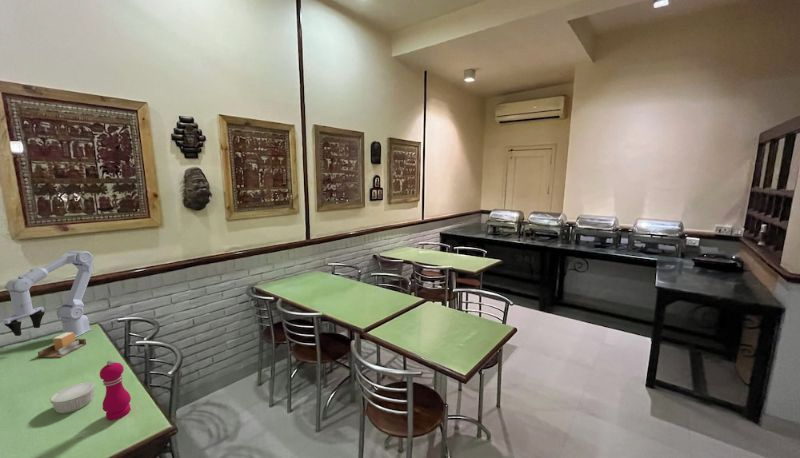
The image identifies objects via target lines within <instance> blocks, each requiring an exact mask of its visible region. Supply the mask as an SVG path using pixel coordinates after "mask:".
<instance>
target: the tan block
mask: <svg viewBox="0 0 800 458" xmlns="http://www.w3.org/2000/svg"><path fill="white" fill-rule="evenodd" d="M76 339H77V337H75V333H73V332H66V333H64V332H63V333H61V334H59V335H56V336H55V337H54V338H52V341H53V345H54V346H55V351H58V350H59V349H61V348H63V347H65V346H67V345H69V344H71V343H73V342H75V341H76Z"/></svg>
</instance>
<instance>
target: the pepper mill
mask: <svg viewBox="0 0 800 458" xmlns="http://www.w3.org/2000/svg"><path fill="white" fill-rule="evenodd" d="M123 373H124V366H123V364H122V363H120V362H114V359H109V360H107V362H106V365H104V366H103V367H101V369H100V371H99V377H100V379H101V380H102V383H103V386H105V396H104V398H103V401H102V410H103V411H104V412H105V417H106V420H108V421H115V420H116V421H117V420H119V419H122V418H123V416H124V417H125V416H126V415H128V414H129V413H130V411H132V410H131V404H130V402H131V400H132V397H131V395H130V393H129V391H128V390H126V389H125V387H124V386H123V385H124V384H123V380H124V376H123Z"/></svg>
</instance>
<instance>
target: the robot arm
mask: <svg viewBox="0 0 800 458" xmlns="http://www.w3.org/2000/svg"><path fill="white" fill-rule="evenodd" d="M94 258H95V257H94V256H93V254H92V253H91V252H89V251H88V250H87V251H86V250H84V251H83V250H70V251H68V252H66V253H63V254H61V256H60V257H58V258H55V260H53V261H51V262H49V263H48V264H46V265H45V266H43V267H35V268H34V267H33V268H30V269H29V271H28V272H26V273H24V274H20V275H18V276H17V278H12V279H9V280H8V281H7V282H6V284H5V286H4V289H5V290H6V291H8V292H9V295H10V296H9V297H10V299H11V304H12V310H13V314H12V315H11V316H9V317H6V318H4V319H2V322H3V325H4V326H5V327H7V328H8V329H9V330H11V332H12V333H13V334H14V336H15V337H20V336H22V329H21V328H22V327H21V325H22V321H21V319H23V318H26V317H28V316H29V318H30V320H31V322H32V326H33V328H34V329H39V328H40V327H41V323H42V319H43V318H44V315H45V309H44V306H38V307H35V308H33V301H32V298H31V293H30V289H31V287H32V286H33V285H35V284H37V283H38V282H40V281H42V280H44V279H45V278H47V277H48V275H49V273H51V272H53V271H55V270H57V269H59V268H61V267H63V266H65V265H68V264H70V265H71V264H72V265H74V267H76V268H77V273H76V275H75V278H74V281H73V283H72V285H71V286H72V287H71V288H70V291H69V294H68V296H67V299H65V300H64V301H63V302H62V303H61V306H60V307H58V309H57V310H56V316H57V317H58V318H60V320H61V326H62V331H63V334H64V333H66V332H73V333H75V338H78V337H80V336H82V335H83V334H86V333H88V332H89V331H91V330H92V328H90V327H91V326H90V321H89V317H88V316H87V315H86V314H84V306H85V304H84V302H83V301H82V300H83V298H84V295H85V292H86V290H87V287H88V284H89V281H90V279H91V277H92V274H93V271H94V262H93V260H94ZM18 320H20V321H18Z"/></svg>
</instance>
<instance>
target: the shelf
mask: <svg viewBox="0 0 800 458" xmlns="http://www.w3.org/2000/svg"><path fill="white" fill-rule="evenodd" d="M85 345H87V340H86V338H76V341H75V342H73V343H71V344H69V345H67V346H65V347H63V348H61V349H59V350H58V351H55V346H54V344H52V345H50V346H48V347H46V348H43V349H42V350H39V351H37V355H38V358H39V359H46V358H47V359H50V358H51V359H55V358H57V359H58V358H59V359H60V358H62V357H64V356H67V355H69V354H71V353H72V352H74V351H77V350H78V349H80V348H82V347H84V346H85Z"/></svg>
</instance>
